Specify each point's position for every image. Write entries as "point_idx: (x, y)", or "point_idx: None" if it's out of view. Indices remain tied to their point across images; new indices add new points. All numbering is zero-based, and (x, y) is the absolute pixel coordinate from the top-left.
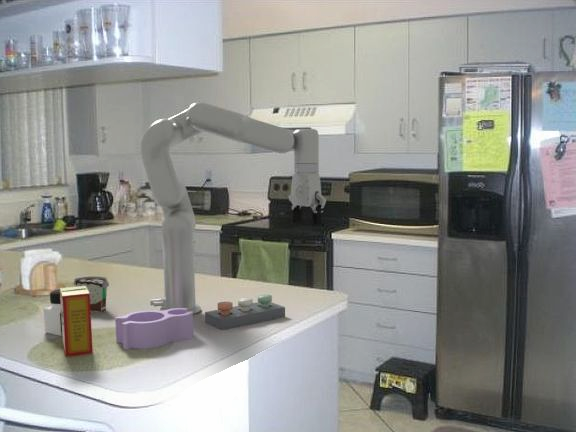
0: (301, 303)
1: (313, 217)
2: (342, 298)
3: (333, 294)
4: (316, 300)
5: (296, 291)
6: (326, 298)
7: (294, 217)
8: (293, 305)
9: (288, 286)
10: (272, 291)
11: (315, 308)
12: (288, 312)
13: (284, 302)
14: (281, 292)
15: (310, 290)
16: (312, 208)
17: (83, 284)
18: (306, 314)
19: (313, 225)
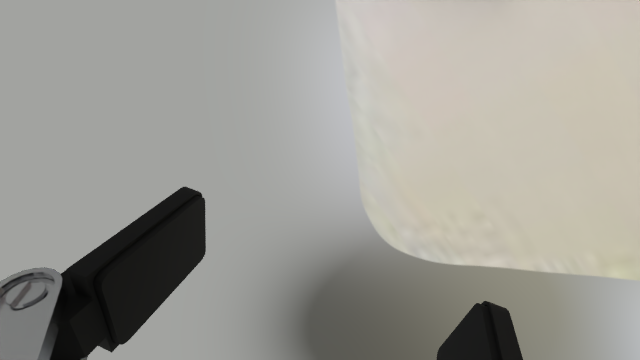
0: (439, 130)
1: (120, 233)
2: (370, 218)
3: (409, 240)
4: (417, 176)
5: (523, 232)
6: (404, 203)
7: (489, 355)
8: (450, 99)
9: (579, 269)
10: (611, 205)
11: (374, 107)
12: (420, 19)
13: (497, 113)
14: (569, 206)
15: (487, 253)
16: (24, 345)
17: None
18: (360, 37)
19: (184, 187)
